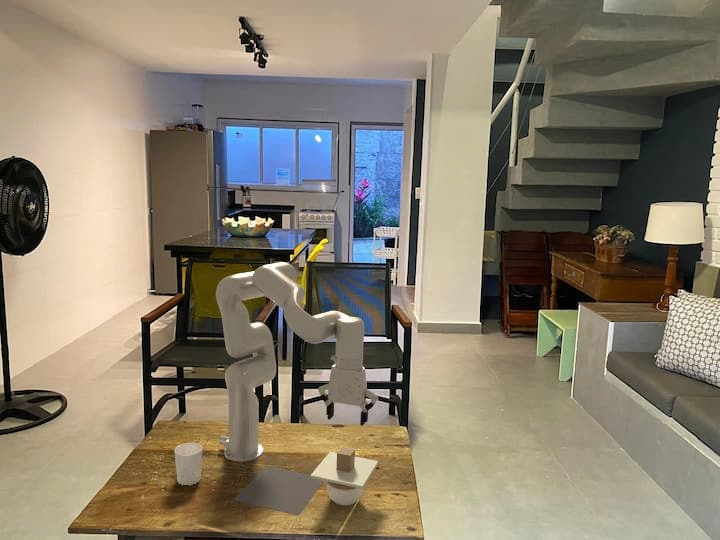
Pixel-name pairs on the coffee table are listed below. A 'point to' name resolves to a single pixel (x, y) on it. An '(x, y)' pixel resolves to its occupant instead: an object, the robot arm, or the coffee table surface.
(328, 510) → the coffee table surface
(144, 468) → the coffee table surface
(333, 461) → the lid sheet
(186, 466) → the white cup
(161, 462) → the coffee table surface
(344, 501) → the lidded jar
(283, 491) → the mat
